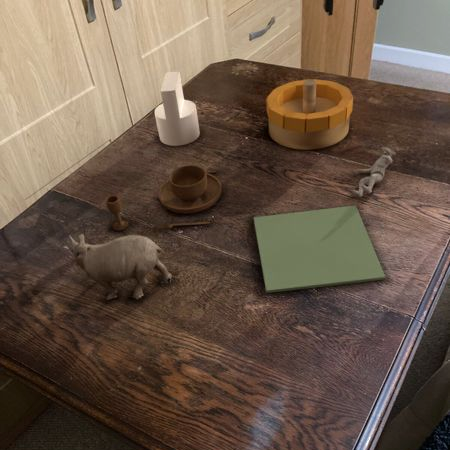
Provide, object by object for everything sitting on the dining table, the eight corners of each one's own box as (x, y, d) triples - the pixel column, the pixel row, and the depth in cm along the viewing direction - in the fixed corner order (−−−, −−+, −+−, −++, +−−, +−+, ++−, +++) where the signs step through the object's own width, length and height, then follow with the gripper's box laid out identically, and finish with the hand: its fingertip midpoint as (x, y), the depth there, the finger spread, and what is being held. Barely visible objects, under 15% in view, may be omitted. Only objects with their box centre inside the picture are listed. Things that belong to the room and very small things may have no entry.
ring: (340, 88, 109) (341, 75, 107) (360, 126, 97) (361, 112, 95) (263, 97, 109) (262, 85, 107) (273, 136, 98) (273, 123, 96)
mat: (355, 207, 86) (355, 205, 86) (385, 279, 74) (385, 277, 74) (253, 219, 87) (253, 217, 86) (266, 293, 75) (266, 290, 74)
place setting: (222, 224, 87) (219, 197, 82) (111, 233, 88) (102, 206, 84) (222, 169, 99) (219, 142, 94) (124, 178, 100) (116, 152, 96)
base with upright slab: (162, 126, 113) (151, 73, 104) (201, 123, 112) (193, 70, 103) (157, 147, 107) (145, 92, 98) (198, 144, 106) (190, 89, 97)
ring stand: (338, 105, 112) (342, 60, 105) (357, 144, 100) (362, 96, 93) (264, 114, 112) (262, 70, 105) (274, 154, 101) (273, 107, 93)
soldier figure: (339, 196, 91) (360, 146, 94) (358, 211, 92) (377, 161, 96) (369, 183, 84) (390, 129, 88) (389, 199, 85) (408, 146, 89)
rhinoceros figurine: (172, 300, 72) (97, 225, 66) (115, 328, 80) (43, 264, 74) (188, 267, 78) (120, 195, 71) (133, 297, 85) (68, 234, 79)
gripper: (322, -91, 76) (317, 23, 88) (415, -104, 75) (398, 13, 87) (313, -100, 81) (310, 9, 93) (400, -112, 80) (385, -1, 92)
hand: (352, 11), depth 90 cm, fingers open, 8 cm apart
